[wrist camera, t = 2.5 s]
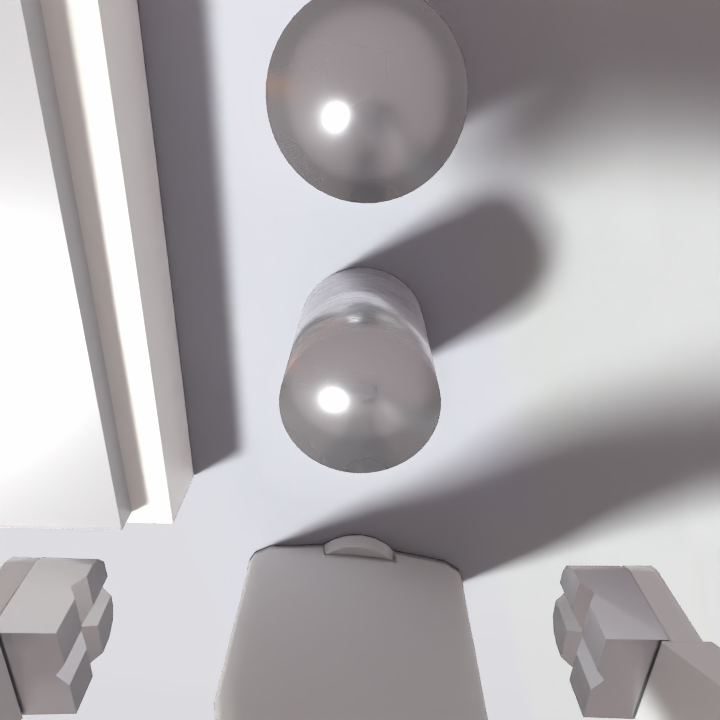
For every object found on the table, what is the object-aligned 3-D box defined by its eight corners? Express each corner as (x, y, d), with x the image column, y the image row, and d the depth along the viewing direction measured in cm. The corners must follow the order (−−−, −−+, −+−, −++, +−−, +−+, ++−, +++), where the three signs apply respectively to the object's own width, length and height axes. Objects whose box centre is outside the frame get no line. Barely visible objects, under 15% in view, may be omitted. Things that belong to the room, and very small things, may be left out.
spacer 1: (445, 12, 18) (478, -16, 13) (434, 170, 20) (458, 205, 15) (293, 9, 18) (260, -21, 13) (297, 167, 20) (270, 200, 15)
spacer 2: (427, 269, 21) (447, 334, 16) (419, 382, 23) (434, 474, 18) (299, 265, 21) (276, 329, 16) (302, 379, 23) (282, 471, 18)
